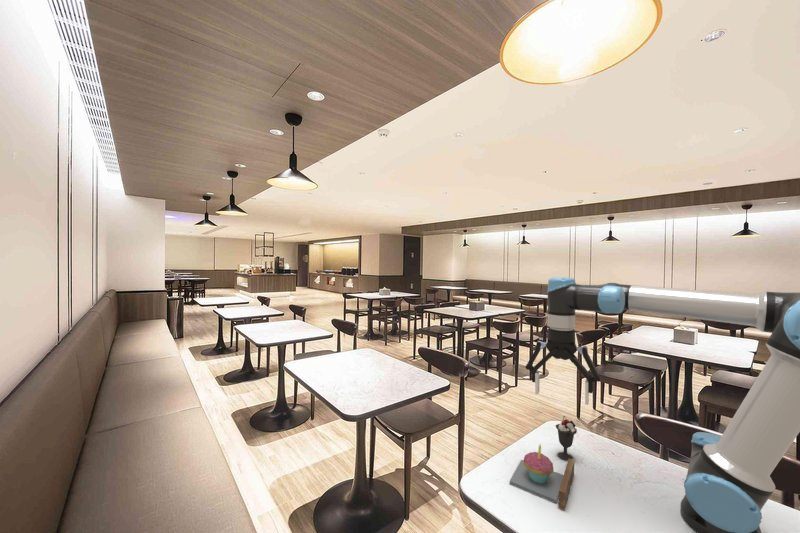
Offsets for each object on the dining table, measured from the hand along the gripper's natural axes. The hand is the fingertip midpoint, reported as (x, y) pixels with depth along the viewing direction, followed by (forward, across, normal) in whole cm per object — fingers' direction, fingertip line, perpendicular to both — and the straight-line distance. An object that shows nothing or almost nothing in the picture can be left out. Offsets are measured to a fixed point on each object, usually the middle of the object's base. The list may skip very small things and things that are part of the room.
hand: (561, 397), depth 98 cm
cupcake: (+25, +6, +3) cm, 26 cm away
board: (+26, +6, +3) cm, 27 cm away
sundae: (+26, +1, -16) cm, 31 cm away
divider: (+26, -2, +2) cm, 27 cm away
